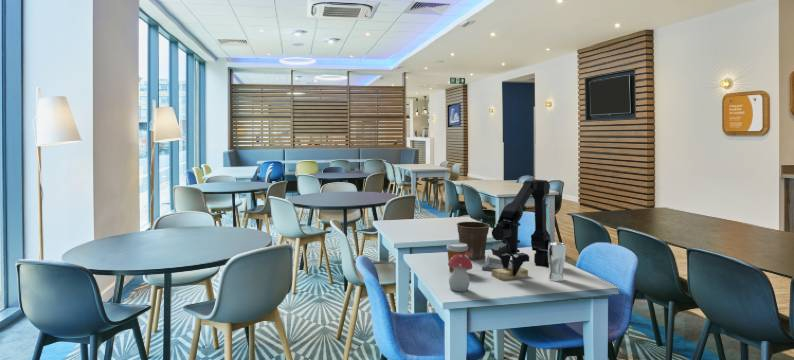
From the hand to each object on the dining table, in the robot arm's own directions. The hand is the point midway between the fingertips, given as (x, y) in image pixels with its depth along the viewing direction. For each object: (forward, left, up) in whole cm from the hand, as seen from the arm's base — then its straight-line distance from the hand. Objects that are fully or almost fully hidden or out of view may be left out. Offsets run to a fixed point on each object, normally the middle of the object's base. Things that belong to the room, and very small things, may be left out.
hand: (509, 273), depth 204 cm
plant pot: (+18, -30, -1) cm, 35 cm away
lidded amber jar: (+22, -1, -1) cm, 22 cm away
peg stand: (+4, -10, -1) cm, 11 cm away
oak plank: (0, 0, -1) cm, 1 cm away
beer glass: (-19, 0, -1) cm, 19 cm away
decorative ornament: (+18, +24, -1) cm, 30 cm away
